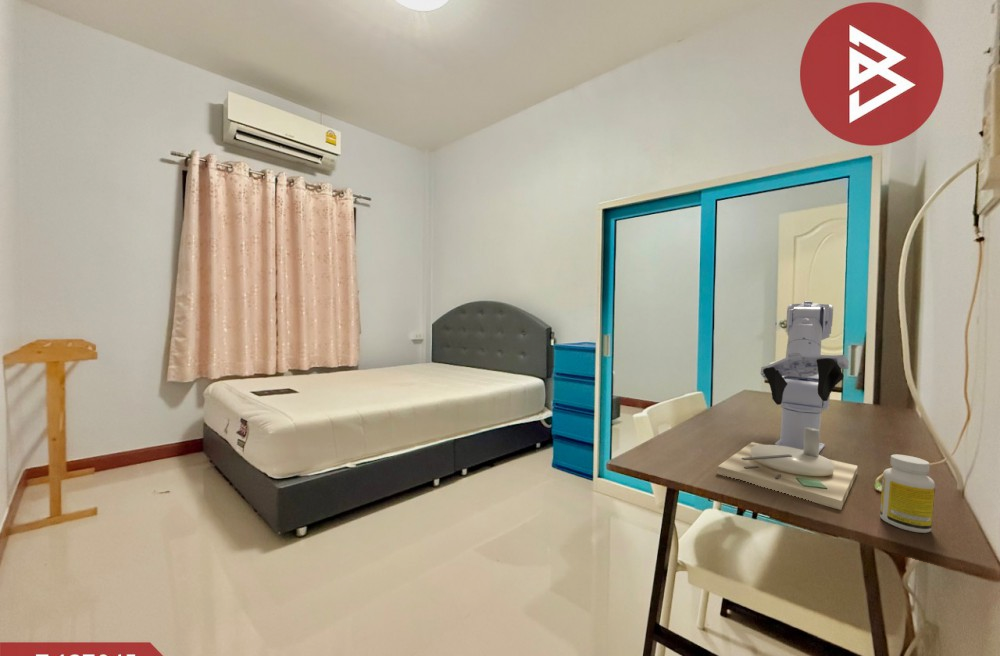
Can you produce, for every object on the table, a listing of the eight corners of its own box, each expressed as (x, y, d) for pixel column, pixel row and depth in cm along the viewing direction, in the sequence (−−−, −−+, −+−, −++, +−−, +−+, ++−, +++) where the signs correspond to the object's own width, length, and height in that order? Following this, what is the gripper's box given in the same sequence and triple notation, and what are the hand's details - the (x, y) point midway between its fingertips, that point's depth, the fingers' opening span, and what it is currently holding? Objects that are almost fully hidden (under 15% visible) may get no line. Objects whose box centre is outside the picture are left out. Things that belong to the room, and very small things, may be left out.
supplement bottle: (942, 536, 56) (948, 467, 55) (897, 531, 57) (902, 463, 57) (911, 517, 61) (916, 454, 61) (870, 512, 62) (874, 450, 62)
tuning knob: (773, 480, 69) (775, 444, 68) (716, 453, 81) (718, 423, 81) (852, 473, 73) (854, 439, 72) (786, 448, 85) (787, 420, 85)
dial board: (751, 448, 91) (752, 441, 91) (857, 473, 78) (857, 464, 78) (717, 473, 76) (717, 465, 76) (841, 510, 63) (841, 499, 63)
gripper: (757, 343, 89) (748, 390, 81) (837, 327, 77) (835, 380, 70) (772, 364, 91) (765, 412, 83) (853, 352, 79) (853, 406, 72)
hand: (798, 399), depth 77 cm, fingers open, 7 cm apart
